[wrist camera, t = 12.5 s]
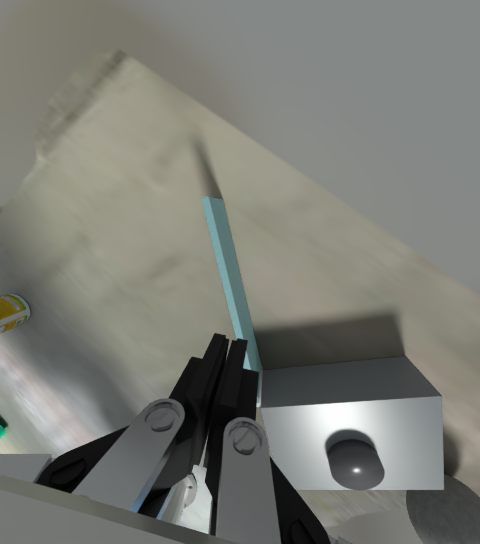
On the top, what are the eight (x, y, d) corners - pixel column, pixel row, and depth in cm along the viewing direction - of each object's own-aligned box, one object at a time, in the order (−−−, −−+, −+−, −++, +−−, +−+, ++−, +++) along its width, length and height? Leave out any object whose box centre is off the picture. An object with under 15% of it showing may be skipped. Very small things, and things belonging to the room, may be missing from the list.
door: (263, 369, 35) (261, 406, 28) (256, 370, 35) (252, 407, 28) (224, 199, 29) (210, 196, 22) (215, 201, 29) (199, 198, 22)
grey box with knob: (279, 440, 38) (281, 503, 30) (262, 370, 35) (259, 419, 27) (410, 435, 34) (454, 506, 26) (405, 355, 31) (453, 408, 23)
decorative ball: (477, 483, 35) (555, 587, 25) (420, 509, 38) (470, 610, 28) (434, 444, 34) (497, 535, 25) (379, 473, 37) (416, 565, 27)
